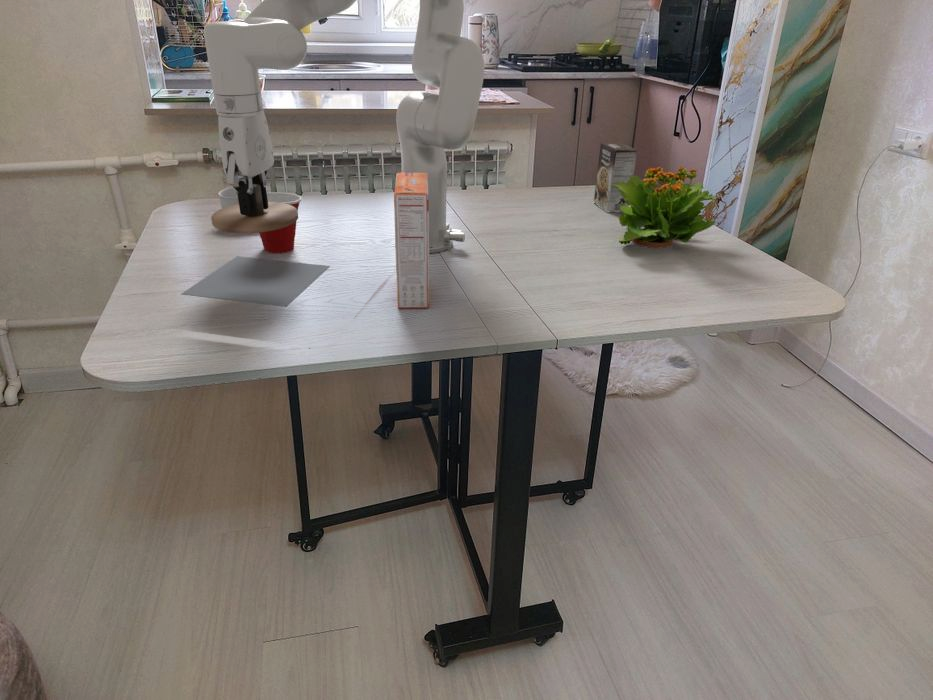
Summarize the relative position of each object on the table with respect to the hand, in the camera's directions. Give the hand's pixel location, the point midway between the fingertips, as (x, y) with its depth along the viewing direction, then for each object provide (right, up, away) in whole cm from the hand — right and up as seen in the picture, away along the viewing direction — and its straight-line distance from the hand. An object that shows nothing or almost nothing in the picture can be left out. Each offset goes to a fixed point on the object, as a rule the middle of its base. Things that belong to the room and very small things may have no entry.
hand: (254, 210), depth 121 cm
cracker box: (+28, -15, +4) cm, 32 cm away
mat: (-1, -12, +6) cm, 14 cm away
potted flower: (+81, 0, +36) cm, 89 cm away
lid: (0, -1, +1) cm, 2 cm away
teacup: (-14, +5, +39) cm, 42 cm away
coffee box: (+77, +13, +59) cm, 98 cm away
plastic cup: (-1, -4, +22) cm, 22 cm away
